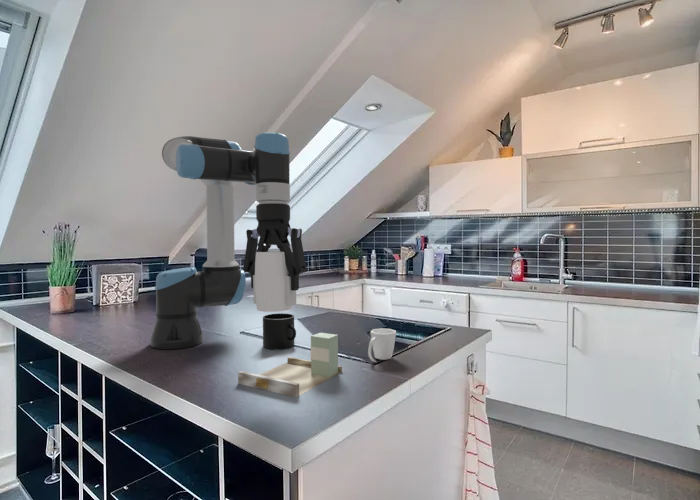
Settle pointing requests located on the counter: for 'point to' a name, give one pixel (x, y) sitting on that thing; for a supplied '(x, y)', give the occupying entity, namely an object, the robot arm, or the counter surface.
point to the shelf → (285, 378)
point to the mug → (278, 331)
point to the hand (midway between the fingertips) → (274, 303)
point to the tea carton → (324, 354)
